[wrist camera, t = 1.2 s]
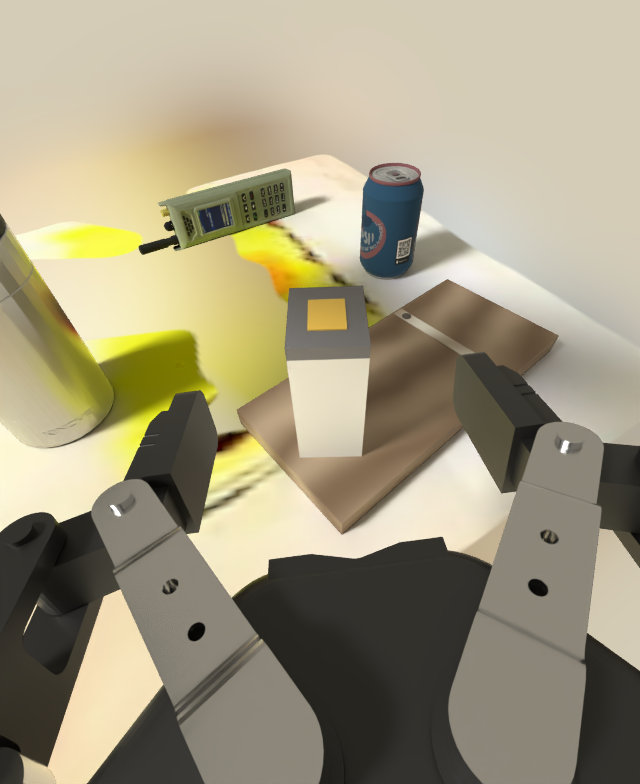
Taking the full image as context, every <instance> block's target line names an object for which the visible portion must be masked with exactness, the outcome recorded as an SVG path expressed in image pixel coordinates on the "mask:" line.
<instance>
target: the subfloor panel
mask: <svg viewBox="0 0 640 784" xmlns="http://www.w3.org/2000/svg"><path fill="white" fill-rule="evenodd" d="M369 336H370V343H371V351H370V363H369V375H368V386H367V398H366V410H365V422H364V434H363V446H362V456H350V457H309V458H300V455H299V448H298V440H297V433H296V426H295V419H294V412H293V404H292V397H291V390H290V383H289V378H287V379H286V380H284V381H282V382H281V383H279V384H278V385H276V386H274V387H273V388H271V389H270V390H268V391H266V392H265V393H263V394H261V395H260V396H258V397H257V398H255V399H253V400H252V401H250V402H249V403H247V404H245V405H244V406H242V407H240V408H239V409H237V412H238V415H239V419H240V422H241V424H242V425H243V426H244V427H245V428H246V429H247V430H248V432H249V433H250V434H251V435H252V436H253V437H254V438H255V439H256V440H257V441H258V443H259V444H260V445H261V446H262V447H263V448H264V449H265V450H266V451H267V453H268V454H269V455H270V456H271V457H272V458H273V459H274V460H275V461H276V462H277V464H278V465H279V466H280V467H281V468H282V469H283V470H284V471H285V472H286V474H287V475H288V476H289V477H290V478H291V479H292V480H293V481H294V482H295V483H296V485H297V486H298V487H299V488H300V489H301V490H302V491H303V492H304V493H305V494H306V496H307V497H308V498H309V499H310V500H311V501H312V502H313V503H314V504H315V506H316V507H317V508H318V509H319V510H320V511H321V512H322V513H323V514H324V515H325V517H326V518H327V519H328V520H329V521H330V522H331V523H332V524H333V525H334V527H335V528H336V529H337V530H338V531H339V532H340V533H341V534H343V533H344V532H345V531H346V530H348V529H349V528H350V527H351V526H352V525H353V524H354V523H355V522H357V521H358V520H359V519H360V518H361V517H362V516H363V515H365V514H366V513H367V512H368V511H369V510H370V509H371V508H372V507H374V506H375V505H376V504H377V503H378V502H379V501H380V500H381V499H383V498H384V497H385V496H386V495H387V494H388V493H389V492H391V491H392V490H393V489H394V488H395V487H396V486H397V485H398V484H400V483H401V482H402V481H403V480H404V479H405V478H406V477H408V476H409V475H410V474H411V473H412V472H413V471H414V470H415V469H417V468H418V467H419V466H420V465H421V464H422V463H423V462H425V461H426V460H427V459H428V458H429V457H430V456H431V455H432V454H434V453H435V452H436V451H437V450H438V449H439V448H440V447H442V446H443V445H444V444H445V443H446V442H447V441H448V440H449V439H451V438H452V437H453V436H454V435H455V434H456V433H457V432H459V431H460V430H461V429H462V428H463V425H462V423H461V422H460V420H459V418H458V416H457V414H456V412H455V408H454V403H453V391H454V380H455V368H456V360H457V357H458V356H459V355H464V354H471V353H478V352H485V353H486V354H487V355H488V356H489V357H490V359H491V360H492V361H493V362H494V363H495V365H496V366H500V365H504V366H506V367H508V368H510V369H512V370H513V371H515V372H517V373H519V374H520V376H522V375H523V374H524V373H525V372H526V371H528V370H529V369H530V368H531V367H532V366H533V365H534V364H536V363H537V362H538V361H539V360H540V359H541V358H542V357H543V356H545V355H546V354H547V353H548V352H549V351H550V350H551V349H552V347H553V345H554V343H555V341H556V340H557V338H558V335H556V334H554V333H552V332H550V331H548V330H546V329H544V328H542V327H540V326H538V325H536V324H534V323H533V322H531V321H529V320H527V319H525V318H523V317H521V316H519V315H517V314H515V313H513V312H511V311H509V310H507V309H505V308H503V307H501V306H499V305H497V304H495V303H493V302H491V301H489V300H487V299H485V298H483V297H481V296H479V295H477V294H475V293H473V292H472V291H470V290H468V289H466V288H464V287H462V286H460V285H458V284H456V283H454V282H452V281H450V280H448V279H447V280H445V281H444V282H442V283H440V284H439V285H437V286H435V287H434V288H432V289H431V290H429V291H427V292H426V293H424V294H423V295H421V296H419V297H418V298H416V299H415V300H413V301H411V302H410V303H408V304H406V305H405V306H403V307H402V308H400V309H398V310H397V311H395V312H394V313H392V314H390V315H389V316H387V317H386V318H384V319H382V320H381V321H379V322H377V323H376V324H374V325H373V326H371V327H369Z"/></svg>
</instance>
